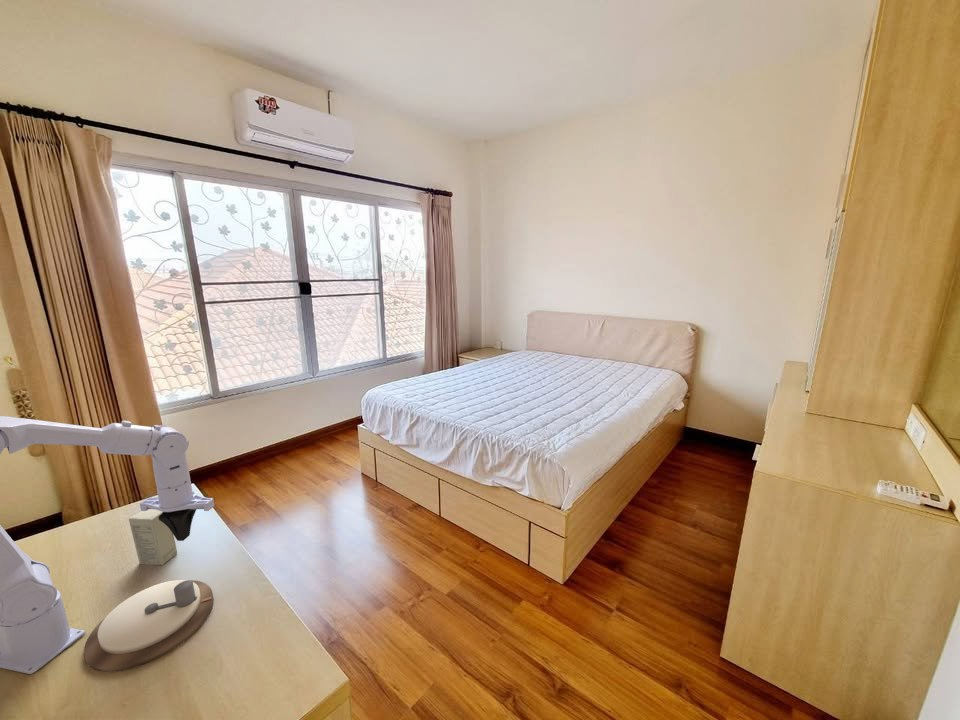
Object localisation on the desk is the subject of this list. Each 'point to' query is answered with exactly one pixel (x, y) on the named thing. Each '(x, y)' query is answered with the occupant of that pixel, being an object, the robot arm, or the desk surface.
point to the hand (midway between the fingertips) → (183, 537)
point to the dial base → (127, 661)
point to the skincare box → (152, 538)
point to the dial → (149, 616)
